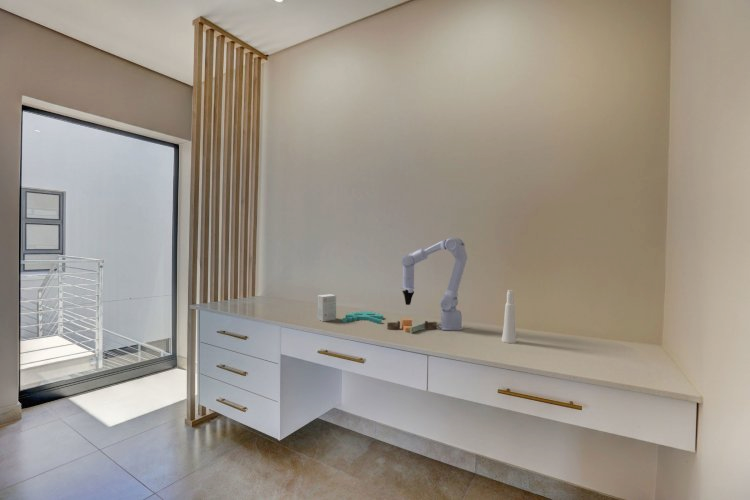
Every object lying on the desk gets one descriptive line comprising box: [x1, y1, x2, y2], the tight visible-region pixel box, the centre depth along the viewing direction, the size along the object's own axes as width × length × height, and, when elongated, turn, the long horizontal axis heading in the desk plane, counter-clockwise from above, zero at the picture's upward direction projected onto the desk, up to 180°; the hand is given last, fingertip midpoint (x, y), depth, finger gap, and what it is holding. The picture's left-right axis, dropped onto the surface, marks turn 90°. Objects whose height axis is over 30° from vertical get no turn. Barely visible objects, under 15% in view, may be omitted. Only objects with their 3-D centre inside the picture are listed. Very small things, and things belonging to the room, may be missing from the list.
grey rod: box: [409, 322, 425, 334], centre depth 165 cm, size 12×2×2 cm, turn 140°
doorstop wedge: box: [400, 318, 413, 333], centre depth 168 cm, size 4×8×4 cm, turn 10°
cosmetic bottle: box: [501, 289, 518, 344], centre depth 150 cm, size 6×6×22 cm
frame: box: [386, 320, 438, 330], centre depth 169 cm, size 24×2×4 cm, turn 95°
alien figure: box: [341, 310, 384, 325], centre depth 189 cm, size 20×2×20 cm
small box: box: [316, 293, 337, 322], centre depth 186 cm, size 8×6×13 cm
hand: (407, 304), depth 181 cm, fingers closed
